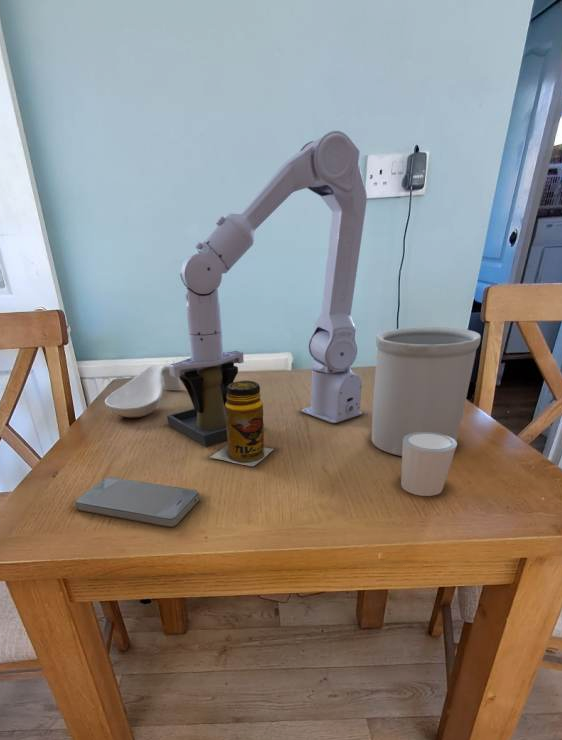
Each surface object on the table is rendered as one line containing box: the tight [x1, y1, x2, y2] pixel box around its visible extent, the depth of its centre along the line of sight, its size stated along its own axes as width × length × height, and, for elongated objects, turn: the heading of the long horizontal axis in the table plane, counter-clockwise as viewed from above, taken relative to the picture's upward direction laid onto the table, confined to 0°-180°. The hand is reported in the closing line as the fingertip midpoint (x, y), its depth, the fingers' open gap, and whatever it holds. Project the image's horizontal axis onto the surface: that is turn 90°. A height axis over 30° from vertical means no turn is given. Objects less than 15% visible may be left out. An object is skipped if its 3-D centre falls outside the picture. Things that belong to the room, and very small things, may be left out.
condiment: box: [209, 380, 274, 467], centre depth 75 cm, size 7×8×12 cm
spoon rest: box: [104, 365, 182, 419], centre depth 102 cm, size 24×12×7 cm, turn 162°
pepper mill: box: [197, 366, 226, 430], centre depth 87 cm, size 6×6×11 cm
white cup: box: [400, 432, 458, 497], centre depth 64 cm, size 7×7×7 cm
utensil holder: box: [371, 326, 482, 457], centre depth 75 cm, size 15×15×18 cm
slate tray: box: [166, 407, 227, 448], centre depth 89 cm, size 14×12×2 cm
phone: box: [75, 476, 200, 528], centre depth 65 cm, size 8×16×1 cm, turn 68°
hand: (211, 407), depth 88 cm, fingers closed on pepper mill, 5 cm apart
